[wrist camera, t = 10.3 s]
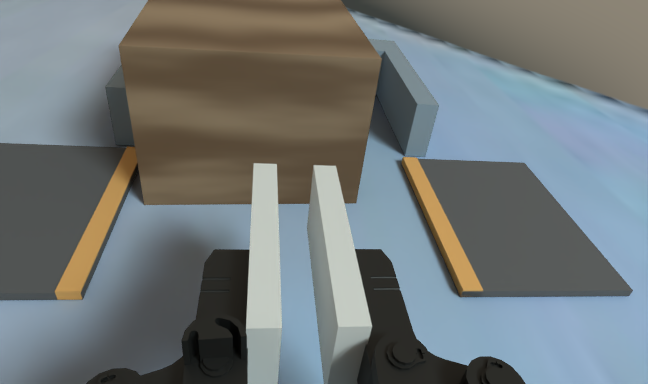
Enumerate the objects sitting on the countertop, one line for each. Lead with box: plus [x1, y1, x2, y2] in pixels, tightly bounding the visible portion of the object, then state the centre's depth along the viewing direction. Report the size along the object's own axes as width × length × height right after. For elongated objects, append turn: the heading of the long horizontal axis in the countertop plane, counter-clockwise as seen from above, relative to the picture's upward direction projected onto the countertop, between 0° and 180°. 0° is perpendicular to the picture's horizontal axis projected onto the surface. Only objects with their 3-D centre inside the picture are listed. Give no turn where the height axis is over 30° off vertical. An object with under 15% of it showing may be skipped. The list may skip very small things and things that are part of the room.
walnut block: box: [119, 0, 382, 205], centre depth 30 cm, size 16×12×9 cm
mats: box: [0, 143, 633, 300], centre depth 25 cm, size 12×35×1 cm, turn 96°
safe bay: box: [105, 39, 439, 157], centre depth 35 cm, size 14×21×4 cm, turn 96°
